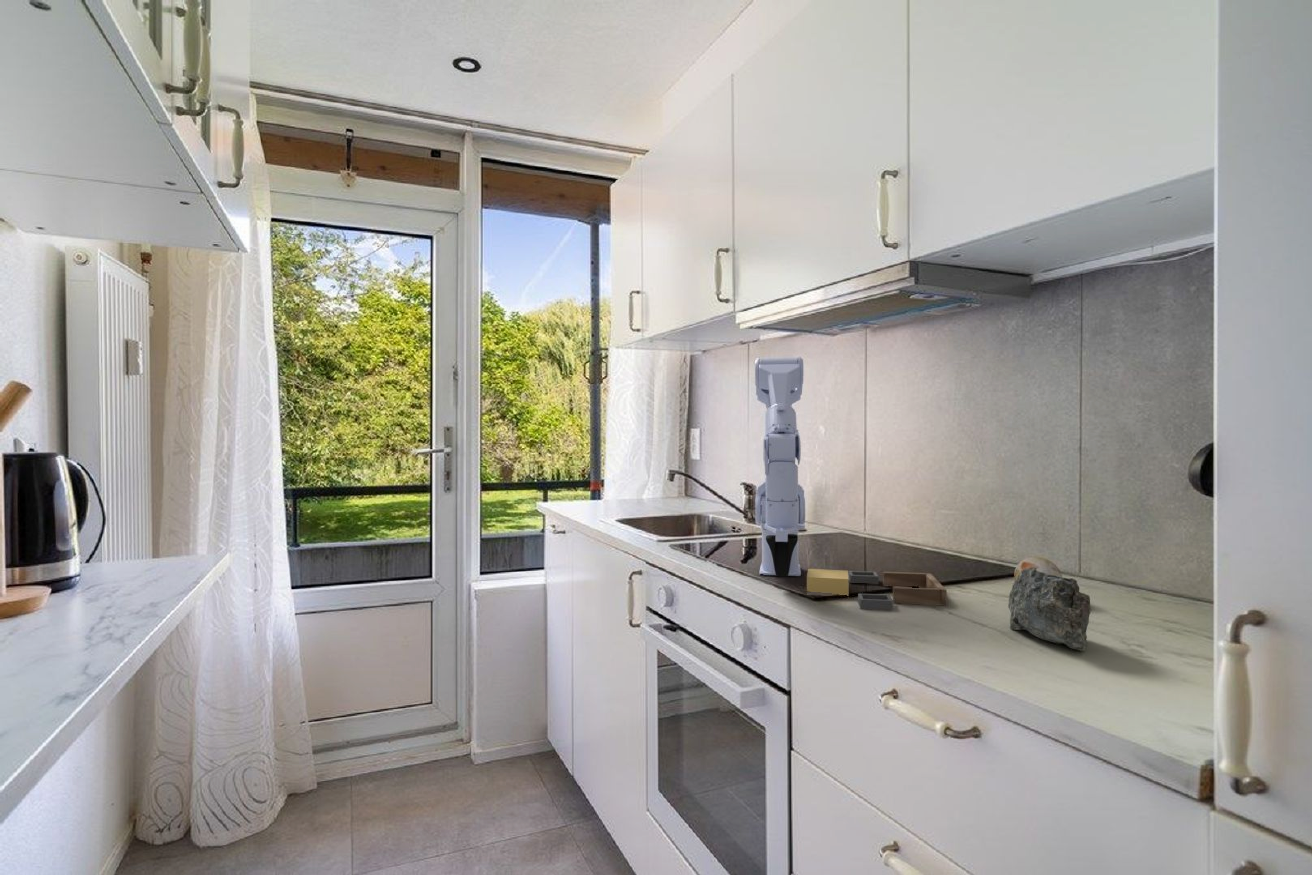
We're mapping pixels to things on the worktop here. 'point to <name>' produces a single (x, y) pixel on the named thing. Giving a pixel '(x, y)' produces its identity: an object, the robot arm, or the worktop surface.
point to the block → (828, 581)
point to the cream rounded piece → (1038, 566)
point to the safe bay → (925, 594)
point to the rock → (1050, 608)
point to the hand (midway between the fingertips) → (782, 575)
